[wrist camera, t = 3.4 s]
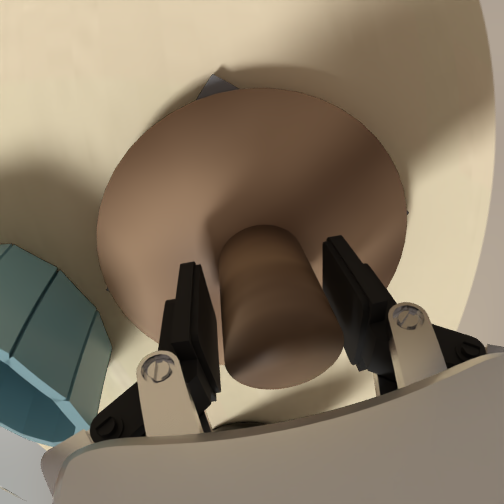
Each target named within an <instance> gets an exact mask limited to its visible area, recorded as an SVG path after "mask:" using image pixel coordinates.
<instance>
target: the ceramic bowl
mask: <svg viewBox="0 0 504 504" xmlns="http://www.w3.org/2000/svg"><path fill="white" fill-rule="evenodd" d="M56 272H57V267H55V266H53V265H51V264H49V263H47V262H45V261H43V260H42V259H40V258H38V257H36V256H34V255H32V254H30V253H28V252H27V251H25V250H23V249H21V248H19V247H18V246H16V245H13V246H12V244H1V245H0V426H2V427H3V428H5V429H7V430H9V431H11V432H13V433H15V434H17V435H19V436H21V437H23V438H25V439H26V438H27V439H28V440H31V441H34V442H37V443H40V444H44V445H48V446H51V447H54V446H56V445H58V444H60V443H61V442H63V441H65V440H66V439H68V438H70V437H71V436H73V435H75V434H76V433H78V432H80V431H81V430H83V429H84V430H86V431H87V430H89V429H90V425H91V423H92V421H93V419H94V418H95V417H96V416H97V414H98V408H99V403H100V399H101V394H102V389H103V385H104V380H105V376H106V371H107V367H108V363H109V359H110V355H111V351H112V345H111V343H110V341H109V338H108V335H107V333H106V330H105V328H104V325H103V322H102V320H101V317H100V314H99V312H98V311H96V309H97V308H96V307H95V306H94V305H93V304H92V303H91V302H90V301H89V300H88V299H87V298H86V297H85V296H84V295H83V294H82V293H81V292H80V291H79V290H78V289H77V288H76V287H75V286H74V285H73V283H72V282H71V281H70V280H69V279H68V278H67V277H66V276H65V275H64V274H63V272H62V271H61V270H60V271H58V272H57V273H56Z"/></svg>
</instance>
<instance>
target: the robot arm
mask: <svg viewBox="0 0 504 504" xmlns="http://www.w3.org/2000/svg"><path fill="white" fill-rule="evenodd" d="M322 266H323V267H322V289H323V291H324V293H325V295H326V297H327V299H328V301H329V304H330V306H331V308H332V310H333V312H334V314H335V316H336V318H337V320H338V323H339V325H340V327H341V329H342V331H343V334H344V349H345V351H346V353H347V356H348V358H349V360H350V362H351V364H352V365H355V364H356V366H357V368H358V370H359V371H362V370H366V369H368V371H370V372H373V377H374V384H375V391H376V397H374V398H371V399H368V400H365V401H362V402H359V403H355V404H352V405H349V406H345V407H342V408H338V409H334V410H331V411H327V412H323V413H319V414H315V415H311V416H307V417H302V418H298V419H293V420H288V421H283V422H278V423H273V424H267V425H261V426H255V427H249V428H242V429H235V430H227V431H219V432H213V429H212V426H211V424H210V421H209V418H208V415H207V412H206V410H205V409H207V408H208V407H209V406H210V405H211V402H213V401H216V393H219V392H221V383H220V368H219V352H218V333H217V320H216V315H215V311H214V308H213V305H212V301H211V298H210V294H209V291H208V287H207V284H206V280H205V277H204V273H203V270H202V266H201V264H198V265H196V263H195V261H193V262H187V263H182V264H180V268H179V275H178V282H177V290H176V298H175V299H170V300H166V301H165V305H164V312H163V318H162V325H161V332H160V339H159V347H158V351H155V352H153V353H150V354H148V355H147V356H145V357H144V358H143V359H142V360H141V361H140V363H139V364H138V367H137V372H136V375H137V382H136V383H135V384H134V385H132V386H131V387H130V388H129V389H128V390H126V391H125V392H124V393H123V394H122V395H120V396H119V397H118V398H117V399H116V400H114V401H113V402H112V403H111V404H110V405H108V406H107V407H106V408H105V409H104V410H102V411H101V412H100V413H99V414H98V415H97V416H96V417H95V418H94V419H93V421H92V423H91V425H90V429H89V430H87V431H86V430H84V429H83V430H81V431H80V432H78V433H76V434H75V435H73V436H71V437H70V438H68V439H66V440H65V441H63V442H61V443H60V444H58V445H56V446H54V447H53V448H51V449H49V450H48V451H47V452H45V453H44V455H43V457H42V459H41V469H42V472H43V474H44V477H45V480H46V482H47V485H48V487H49V489H50V492H51V494H52V496H53V503H52V504H504V347H501V346H495V345H489V344H487V345H486V347H484V346H483V344H482V343H481V342H480V341H479V340H478V339H476V338H474V337H472V336H469V335H465V334H462V333H459V332H456V331H453V330H449V329H446V328H443V327H440V326H437V325H434V324H431V322H430V319H429V317H428V314H427V313H426V311H425V310H424V309H423V308H422V307H420V306H419V305H417V304H414V303H410V302H402V303H398V304H397V303H396V302H395V300H394V299H393V298H392V296H391V295H390V293H389V292H388V290H387V289H386V288H385V286H384V285H383V283H382V282H381V281H380V279H379V278H378V277H377V275H376V274H375V272H374V271H373V270H372V268H371V267H370V266H369V265H368V264H367V263H364V264H363V263H362V261H361V260H360V259H359V257H358V256H357V255H356V253H355V252H354V251H353V249H352V248H351V247H350V245H349V244H348V243H347V241H346V240H345V239H344V237H343V236H342V235H338V236H332V237H328V238H327V240H326V241H325V242H323V244H322Z"/></svg>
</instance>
